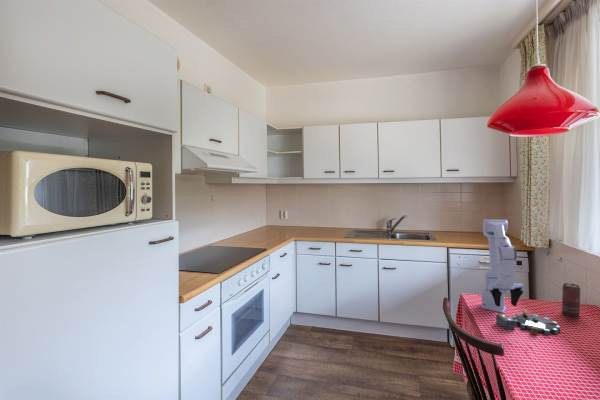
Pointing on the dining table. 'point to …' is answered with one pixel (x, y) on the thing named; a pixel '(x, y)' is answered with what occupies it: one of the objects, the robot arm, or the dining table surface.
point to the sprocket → (536, 323)
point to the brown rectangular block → (534, 330)
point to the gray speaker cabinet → (505, 322)
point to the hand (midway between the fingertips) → (505, 305)
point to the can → (571, 300)
